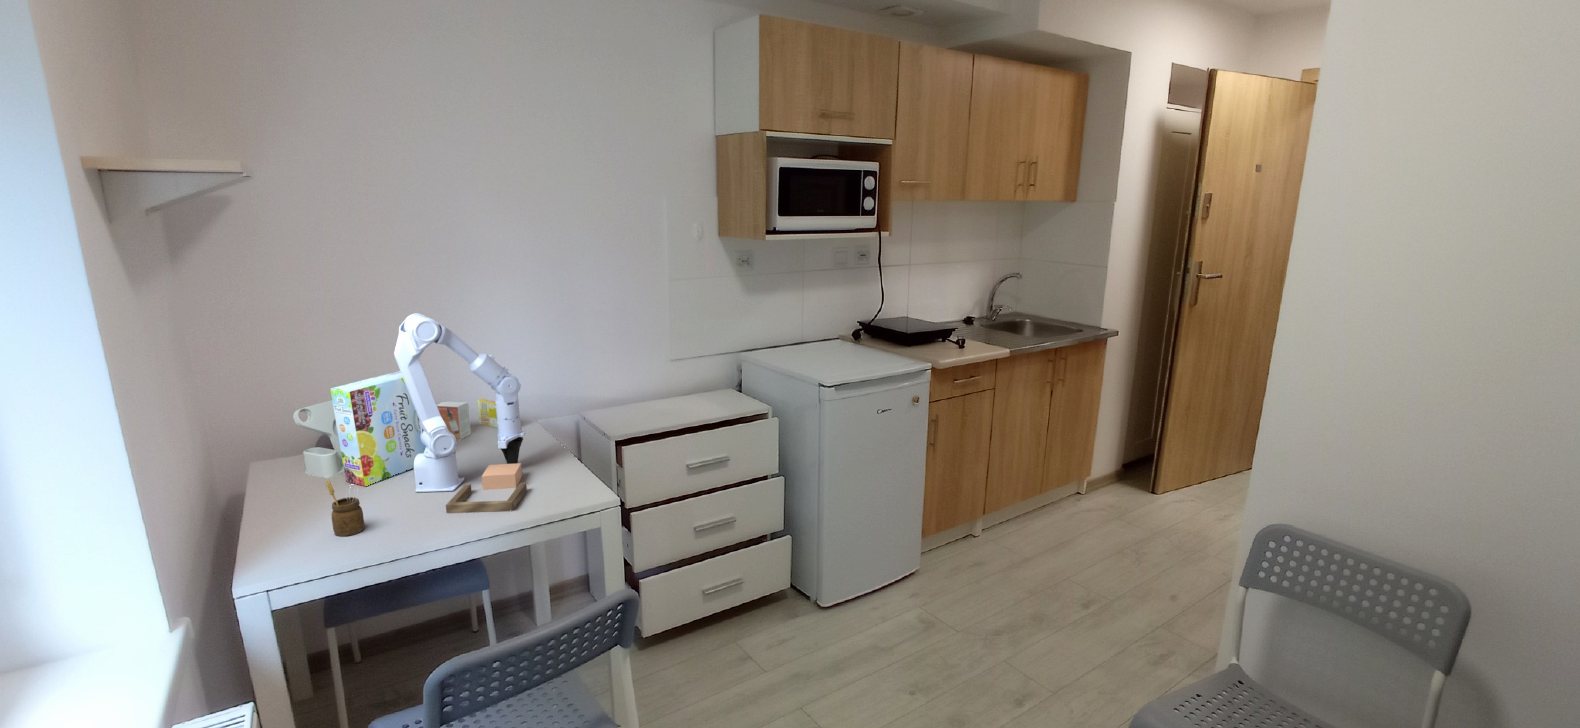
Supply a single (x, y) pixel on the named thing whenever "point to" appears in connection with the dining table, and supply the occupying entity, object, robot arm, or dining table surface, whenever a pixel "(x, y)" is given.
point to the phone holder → (318, 458)
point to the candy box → (487, 413)
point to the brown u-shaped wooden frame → (484, 506)
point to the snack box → (376, 428)
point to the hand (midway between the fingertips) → (512, 465)
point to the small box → (456, 418)
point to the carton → (501, 476)
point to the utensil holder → (346, 514)
